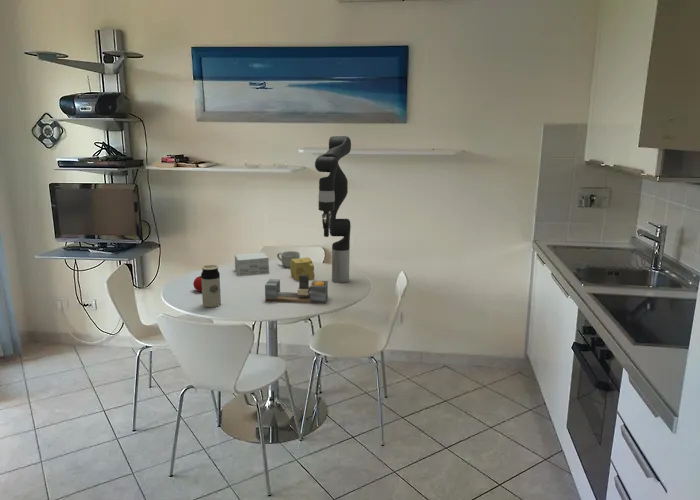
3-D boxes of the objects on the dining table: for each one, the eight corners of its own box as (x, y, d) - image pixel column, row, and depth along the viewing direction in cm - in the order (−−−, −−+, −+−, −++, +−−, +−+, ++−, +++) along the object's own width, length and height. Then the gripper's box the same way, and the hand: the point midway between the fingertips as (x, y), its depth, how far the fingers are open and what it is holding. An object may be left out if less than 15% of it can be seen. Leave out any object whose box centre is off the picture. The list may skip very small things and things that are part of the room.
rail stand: (269, 294, 250) (269, 279, 248) (327, 296, 248) (327, 280, 246) (265, 301, 240) (264, 285, 238) (325, 303, 238) (325, 287, 237)
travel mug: (202, 303, 237) (200, 265, 233) (219, 301, 240) (218, 263, 235) (203, 308, 230) (201, 269, 225) (221, 306, 232) (220, 268, 228)
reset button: (314, 289, 245) (314, 280, 244) (324, 289, 245) (324, 281, 244) (313, 292, 240) (313, 283, 239) (323, 293, 240) (323, 284, 239)
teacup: (303, 265, 303) (303, 252, 301) (292, 270, 294) (291, 256, 292) (285, 262, 310) (284, 249, 308) (273, 266, 301) (272, 252, 299)
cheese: (314, 279, 277) (314, 261, 274) (295, 281, 273) (295, 263, 270) (308, 274, 286) (308, 256, 284) (290, 276, 282) (289, 258, 280)
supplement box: (264, 267, 298) (264, 252, 296) (269, 273, 286) (268, 257, 284) (234, 270, 292) (234, 254, 290) (238, 276, 280) (237, 259, 278)
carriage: (299, 290, 247) (299, 273, 245) (310, 290, 246) (310, 273, 244) (297, 294, 240) (297, 277, 238) (308, 295, 240) (308, 277, 238)
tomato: (216, 289, 256) (215, 274, 254) (202, 294, 249) (202, 278, 247) (203, 286, 261) (202, 271, 259) (189, 291, 253) (188, 275, 251)
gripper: (320, 198, 247) (320, 233, 251) (316, 201, 234) (316, 239, 238) (335, 198, 247) (335, 234, 251) (333, 202, 234) (332, 239, 238)
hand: (326, 236), depth 244 cm, fingers closed
